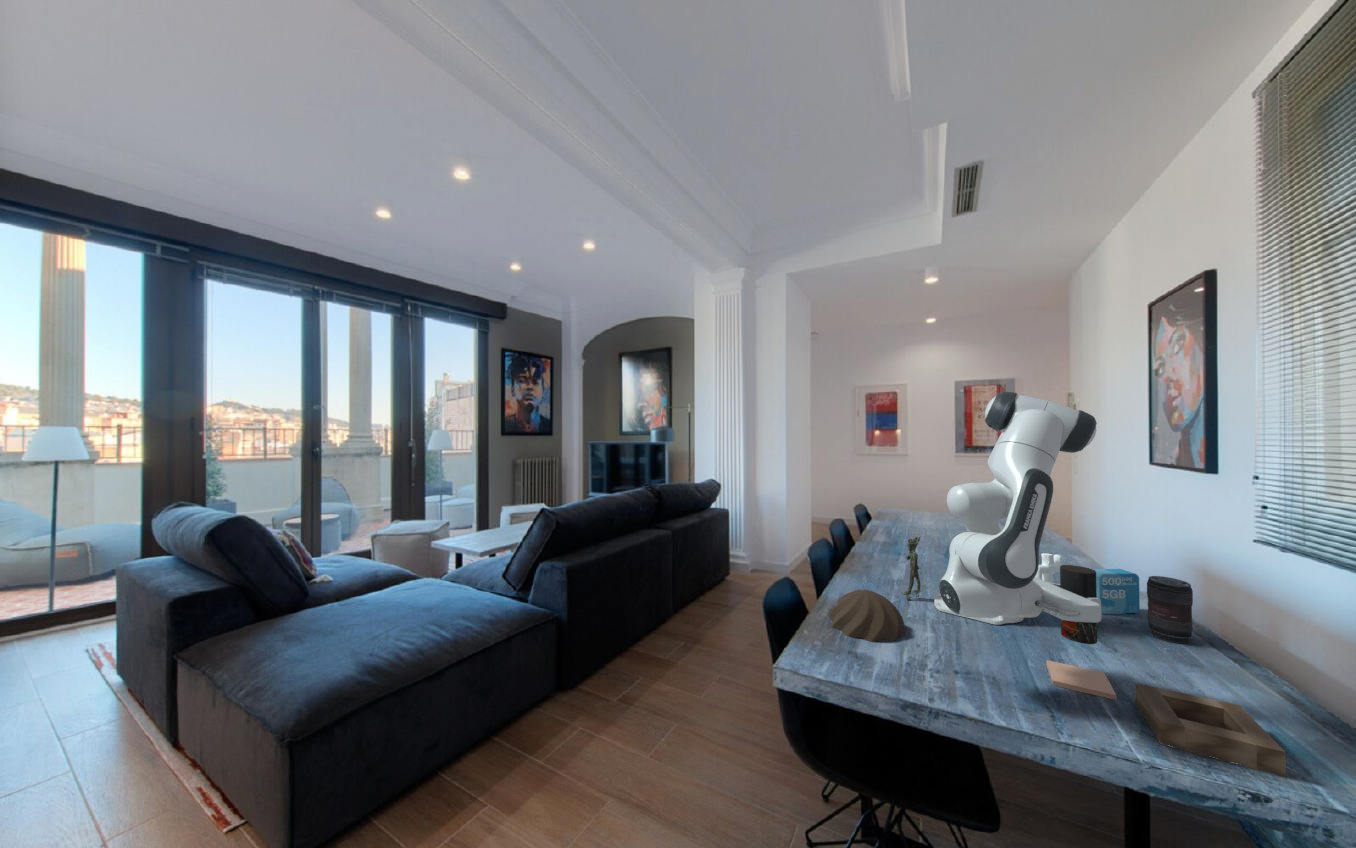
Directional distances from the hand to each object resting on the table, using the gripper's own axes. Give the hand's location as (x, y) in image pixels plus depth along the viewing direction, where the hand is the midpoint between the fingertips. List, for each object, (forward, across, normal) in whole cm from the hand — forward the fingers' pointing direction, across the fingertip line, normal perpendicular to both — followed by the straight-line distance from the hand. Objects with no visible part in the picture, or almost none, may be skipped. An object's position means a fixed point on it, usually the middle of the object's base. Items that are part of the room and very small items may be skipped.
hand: (1082, 595), depth 98 cm
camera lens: (+40, +19, +19) cm, 48 cm away
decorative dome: (-36, +29, +19) cm, 50 cm away
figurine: (+29, +44, +19) cm, 56 cm away
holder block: (+6, -17, +19) cm, 26 cm away
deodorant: (-1, 0, +10) cm, 10 cm away
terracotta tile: (-1, 0, +19) cm, 19 cm away
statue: (-13, +48, +19) cm, 53 cm away
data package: (+42, +36, +19) cm, 58 cm away
